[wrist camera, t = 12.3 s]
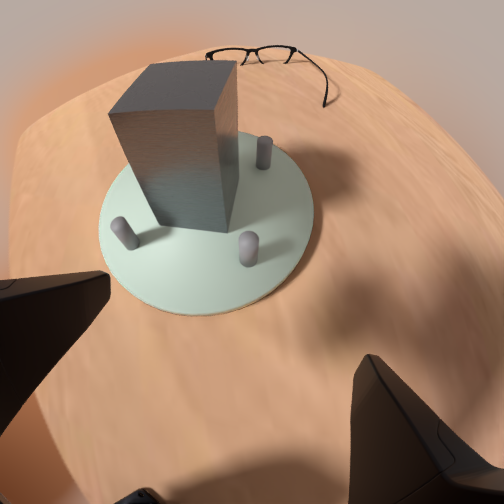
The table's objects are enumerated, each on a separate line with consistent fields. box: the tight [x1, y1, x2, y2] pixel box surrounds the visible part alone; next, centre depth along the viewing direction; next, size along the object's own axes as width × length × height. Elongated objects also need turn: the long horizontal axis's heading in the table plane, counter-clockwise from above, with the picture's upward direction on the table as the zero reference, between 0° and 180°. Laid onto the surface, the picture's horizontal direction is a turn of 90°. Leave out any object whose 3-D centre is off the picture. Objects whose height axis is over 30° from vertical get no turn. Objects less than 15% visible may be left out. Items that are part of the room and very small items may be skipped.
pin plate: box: [99, 131, 314, 316], centre depth 23 cm, size 20×20×4 cm
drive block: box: [108, 60, 239, 234], centre depth 18 cm, size 6×6×12 cm
